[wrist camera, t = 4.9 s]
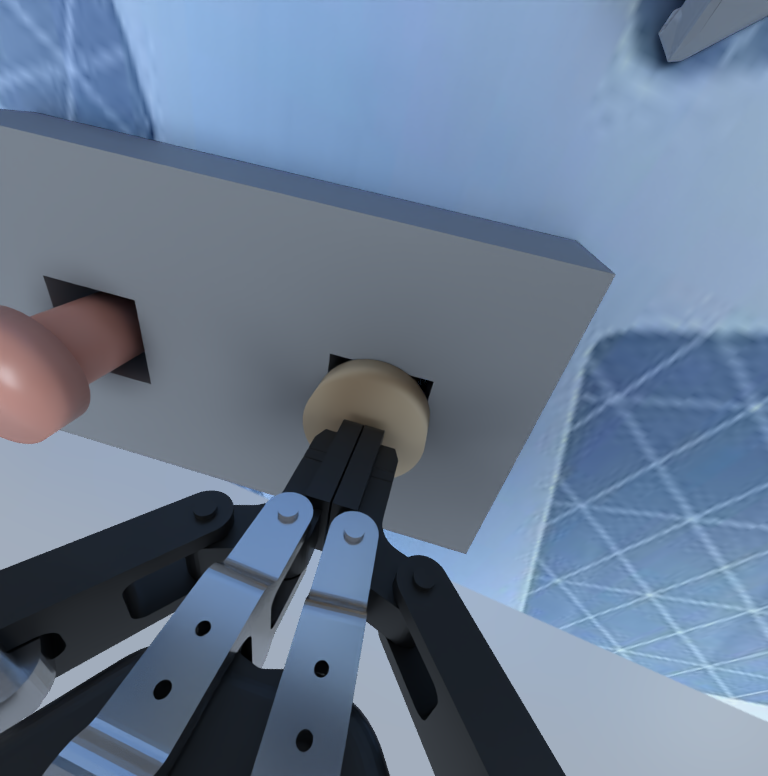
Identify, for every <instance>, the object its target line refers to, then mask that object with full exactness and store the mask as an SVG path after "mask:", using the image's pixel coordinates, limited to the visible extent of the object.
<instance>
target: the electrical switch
mask: <svg viewBox="0 0 768 776" xmlns="http://www.w3.org/2000/svg"><path fill="white" fill-rule="evenodd" d="M766 16H768V0H686V1H685V2H684V4H683V6H682V7H681V8H678V9H675V10H674V11H673V12H672V14H671V15H670V17H669V18H668V20H667V21H666V23H665V24H664V26H663V27H662V29H661V30H660V32H659V33H658V34H659V37H660V40H661V43H662V46H663V49H664V52H665V55H666V58H667V61H668V62H676V61H682V60H684V59H686V58H688V57H690V56H692V55H694V54H696V53H698V52H700V51H702V50H704V49H705V48H707V47H709V46H711V45H713V44H715V43H717V42H719V41H721V40H723V39H724V38H726V37H728V36H730V35H732V34H734V33H736V32H738V31H740V30H742V29H744V28H745V27H747V26H749V25H751V24H753V23H755V22H757V21H759V20H761V19H763V18H764V17H766Z"/></svg>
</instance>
